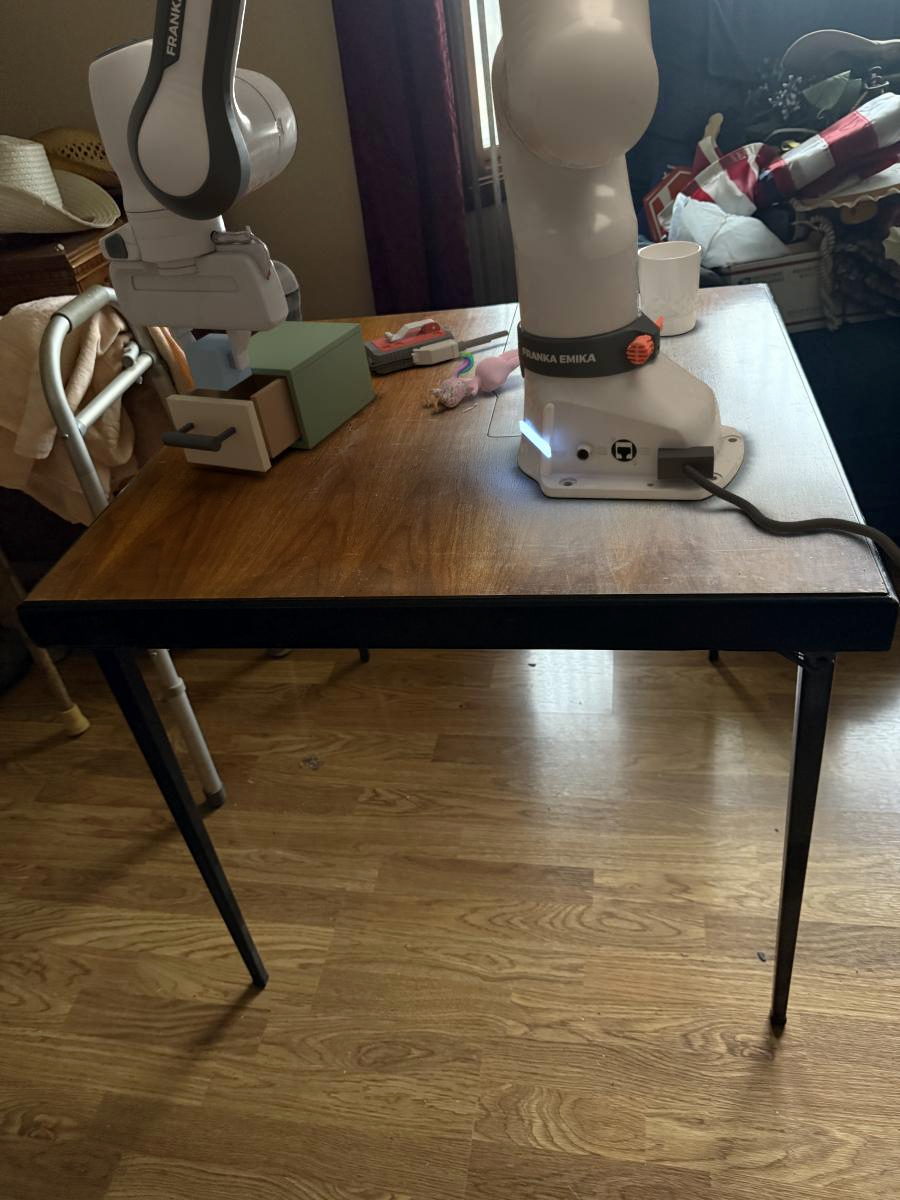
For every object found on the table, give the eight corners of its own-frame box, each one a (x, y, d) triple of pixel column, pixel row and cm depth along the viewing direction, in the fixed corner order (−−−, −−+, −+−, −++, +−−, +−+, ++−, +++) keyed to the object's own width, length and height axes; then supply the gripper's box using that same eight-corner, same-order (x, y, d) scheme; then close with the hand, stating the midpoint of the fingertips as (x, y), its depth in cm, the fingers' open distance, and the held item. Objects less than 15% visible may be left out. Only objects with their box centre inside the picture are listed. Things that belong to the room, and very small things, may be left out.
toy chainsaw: (376, 383, 115) (512, 344, 120) (369, 350, 112) (509, 312, 117) (356, 364, 122) (486, 328, 127) (350, 333, 119) (483, 297, 124)
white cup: (652, 342, 113) (651, 263, 108) (629, 324, 120) (628, 249, 114) (709, 330, 114) (712, 250, 108) (684, 313, 120) (685, 237, 115)
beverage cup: (309, 385, 118) (271, 229, 106) (260, 388, 120) (217, 235, 108) (326, 365, 124) (292, 215, 112) (278, 368, 125) (240, 220, 114)
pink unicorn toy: (446, 427, 104) (551, 372, 107) (431, 383, 100) (540, 327, 103) (424, 411, 109) (525, 359, 111) (409, 368, 105) (514, 315, 108)
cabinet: (310, 449, 101) (289, 369, 96) (226, 440, 107) (202, 364, 101) (375, 397, 111) (360, 323, 106) (295, 391, 117) (277, 320, 111)
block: (252, 374, 96) (241, 334, 94) (226, 391, 93) (214, 350, 91) (221, 372, 98) (209, 333, 96) (195, 388, 95) (182, 348, 93)
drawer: (240, 491, 93) (219, 423, 88) (162, 479, 98) (138, 414, 93) (332, 419, 105) (318, 356, 100) (258, 412, 110) (241, 352, 106)
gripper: (281, 221, 85) (313, 359, 92) (129, 226, 94) (170, 351, 102) (241, 240, 80) (278, 383, 88) (86, 242, 89) (132, 372, 97)
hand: (219, 366), depth 95 cm, fingers closed on block, 4 cm apart
